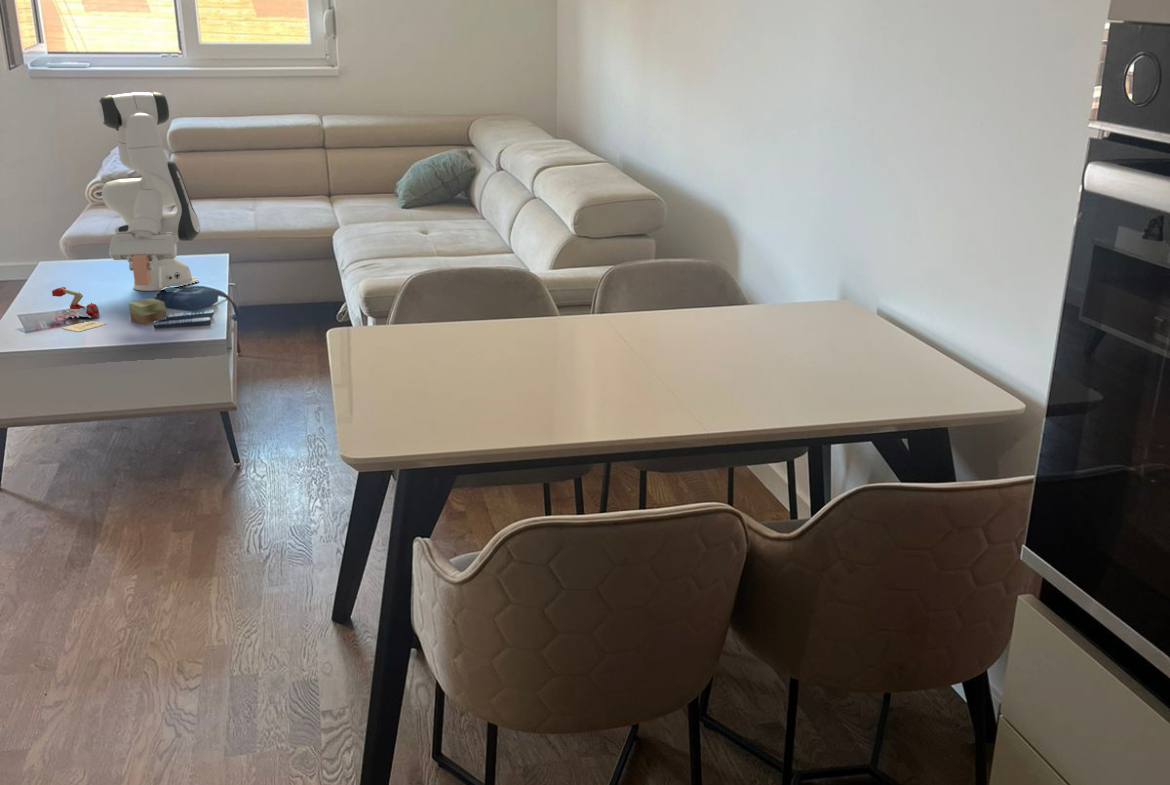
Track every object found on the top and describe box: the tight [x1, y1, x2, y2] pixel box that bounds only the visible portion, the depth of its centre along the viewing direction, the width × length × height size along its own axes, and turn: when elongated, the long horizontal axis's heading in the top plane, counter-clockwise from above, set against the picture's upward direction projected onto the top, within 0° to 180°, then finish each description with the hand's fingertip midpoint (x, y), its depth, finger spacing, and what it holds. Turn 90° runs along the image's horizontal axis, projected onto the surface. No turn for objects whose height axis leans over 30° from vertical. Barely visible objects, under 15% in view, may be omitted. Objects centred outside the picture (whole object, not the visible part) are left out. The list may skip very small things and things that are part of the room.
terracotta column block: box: [131, 255, 152, 285], centre depth 339 cm, size 4×4×9 cm
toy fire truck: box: [51, 286, 100, 319], centre depth 347 cm, size 3×14×10 cm, turn 84°
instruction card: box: [62, 320, 107, 333], centre depth 338 cm, size 10×8×1 cm
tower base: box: [128, 297, 168, 326], centre depth 344 cm, size 8×8×6 cm
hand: (140, 269), depth 338 cm, fingers closed on terracotta column block, 4 cm apart
